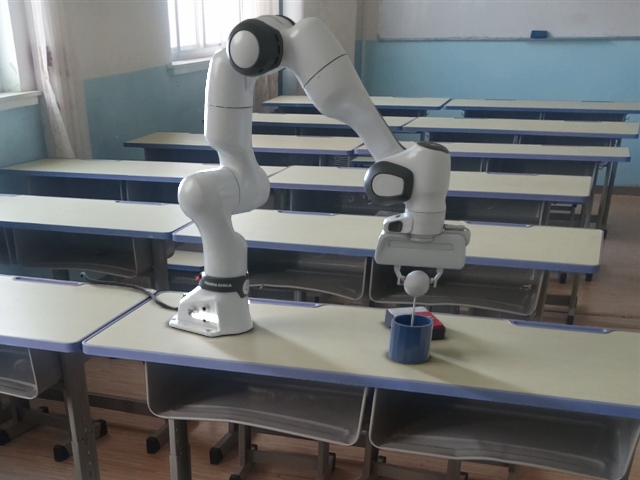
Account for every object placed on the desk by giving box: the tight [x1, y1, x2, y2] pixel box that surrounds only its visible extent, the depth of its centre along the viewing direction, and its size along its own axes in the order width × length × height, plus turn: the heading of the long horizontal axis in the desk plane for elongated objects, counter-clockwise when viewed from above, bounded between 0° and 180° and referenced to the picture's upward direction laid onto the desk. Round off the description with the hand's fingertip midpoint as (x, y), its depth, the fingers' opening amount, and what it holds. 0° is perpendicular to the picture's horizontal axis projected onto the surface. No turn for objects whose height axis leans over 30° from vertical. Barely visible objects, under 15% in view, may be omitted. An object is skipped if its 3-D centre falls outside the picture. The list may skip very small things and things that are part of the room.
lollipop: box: [403, 270, 431, 326], centre depth 187 cm, size 6×6×15 cm
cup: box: [388, 314, 434, 365], centre depth 192 cm, size 10×10×9 cm
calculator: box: [384, 306, 447, 340], centre depth 209 cm, size 11×4×15 cm
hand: (416, 285), depth 185 cm, fingers closed on lollipop, 6 cm apart
